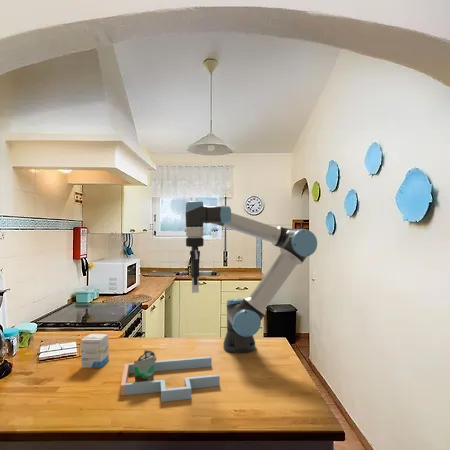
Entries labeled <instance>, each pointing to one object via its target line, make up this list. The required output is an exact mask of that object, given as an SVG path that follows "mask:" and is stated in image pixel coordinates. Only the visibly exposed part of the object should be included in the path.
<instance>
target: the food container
mask: <svg viewBox="0 0 450 450" xmlns="http://www.w3.org/2000/svg"><path fill="white" fill-rule="evenodd" d="M156 361H157V356H156V354H155V352H154V351H152V350H148V349H144V351H143V353H142V355H140V356H139V357H138V359H137V360H134V362H133V363H134V368H135V373H134V382H143V381H154V377H155V376H154V375H155V371H154V363H155V362H156Z"/></svg>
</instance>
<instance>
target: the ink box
mask: <svg viewBox="0 0 450 450" xmlns="http://www.w3.org/2000/svg"><path fill="white" fill-rule="evenodd" d="M109 353H110V352H109V334H106V333H105V334H104V333H103V334H102V333H90V334H88V335H86V336H84V337H83V338H82V339H80V355H81V356H80V357H81V359H80V361H81V368H85V369H87V368H89V369H91V368H93V369H96V368H97V369H101V368H103V367H104V366H105V365H106V364H107V363H108V362H109Z"/></svg>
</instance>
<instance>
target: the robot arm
mask: <svg viewBox="0 0 450 450" xmlns="http://www.w3.org/2000/svg"><path fill="white" fill-rule="evenodd" d="M204 224H213V225H217V226H220V227H224V228H226V229H230V230H232V231H236V232H239V233H242V234H245V235H247V236H251V237H254V238H257V239H260V240H263V241H266V242H269V243H271V245H272V246H273V247H277V248H279V249H280V253H279V255H278V257H277V258H276V259H275V261H274V262H273V264H272V265H271V266H270V267H269V269H268V271H266V273H265V274H264V275H263V277H262V278H261V280H260V281H259V283H258V284H257V285H256V287H254V288H255V289H254V290H253V292H252V293H251V294H250V295H249V297H244V298H231V299H230V298H229V299H227V301H226V305H225V307H226V334H225V337H224V340H223V349H224V350H225V351H226V352H229V353H234V354H235V353H236V354H242V353H243V354H245V353H250V352H253V351H254V350H255V349H256V340H255V338H254V336H255V335H256V334H257V333H258V332H259V330H260V328H261V325H262V320H263V319H264V318H265V316H266V308H267V307H268V306H269V304H270V303H271V301H272V300H273V299H274V297H276V294H277V293H278V292H279V291H280V289H281V287H282V286H283V285H284V283H285V282H286V281H287V279H288V278H289V276H291V274H292V272H293V271H294V269H295V268H296V267H297V266H298V265H302V264H303V263H304V262H305V260H306V259H307V257H310V256H312V255H313V254H314V253H315V252H316V251H317V249H318V248H317V247H318V240H317V236H316V235H315V233H313V232H312V231H310V230H309V229H306V228H287V227H283V226H277V227H276V226H273V225H270V224H267V223H264V222H261V221H257V220H254V219H252V218H249V217H246V216H243V215H239V214H237V213H234V212H232V209H231V207H230V206H229V205H204V201H201V200H190V201H187V202H186V203H185V229H184V232H185V236H186V238H185V247H187V248H188V247H189V248H191V250H189V255H190V265H191V266H190V268H191V269H190V271H191V272H190V274H191V276H190V278H191V293H193V294H194V293H199V292H200V290H199V289H200V288H199V287H200V286H199V277H200V257H201V251H200V250H199V247H200V248H201V247H203V246H205V245H204V242H205V241H204V233H205V232H204V228H205V227H204Z"/></svg>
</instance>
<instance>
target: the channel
mask: <svg viewBox="0 0 450 450" xmlns="http://www.w3.org/2000/svg"><path fill="white" fill-rule="evenodd" d="M212 360H213V359H212V356H203V357H199V356H198V357H190V358H177V359H165V360H156V362H155V363H154V372H164V371H174V370H176V371H177V370H185V369H195V368H208V367H212ZM130 374H135V368H134V362H130V363H129V362H128V363H124V368H123V372H122V377H121V381H120V382H121V383H120V397H121V396H131V395H132V396H133V395H140V394H142V395H143V394H151V393H153V394H154V393H160V402H161V403H163V402H173V401H182V400H191V399H192V389H200V388H201V389H202V388H212V387H213V388H214V387H220V385H221V384H220V383H221V382H220V380H221V379H220V378H221V377H220V374H210V375H209V374H208V375H198V376H190V377H187V376H186V377H184V386H180V387H170V388H169V387H168V388H166V379H157V380H156V379H155V380H153V381H143V382H135V381H134V382H128V381H129V375H130Z"/></svg>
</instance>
